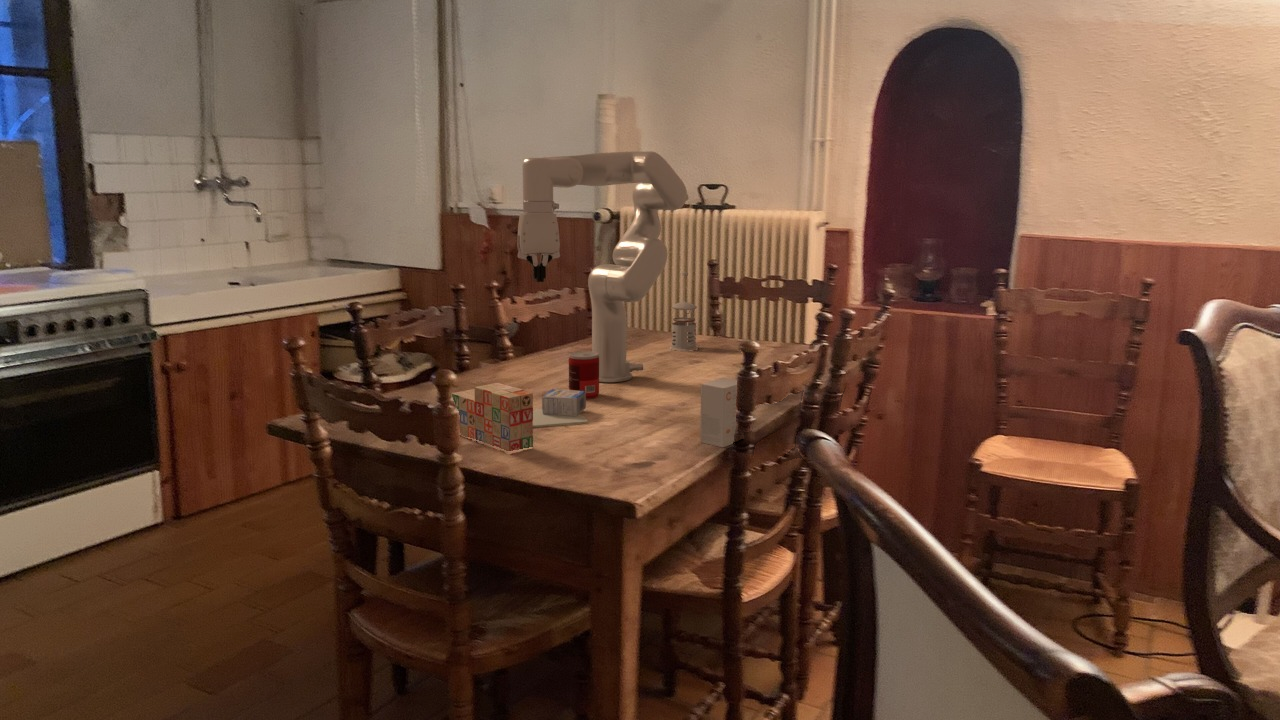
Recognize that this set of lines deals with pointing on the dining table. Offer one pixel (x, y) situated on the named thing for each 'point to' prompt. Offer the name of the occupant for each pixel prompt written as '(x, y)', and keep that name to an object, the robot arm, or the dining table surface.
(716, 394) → the small box
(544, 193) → the robot arm
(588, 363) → the canned food
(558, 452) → the dining table surface
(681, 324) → the grey lantern
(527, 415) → the stack of blocks
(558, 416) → the mat
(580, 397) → the medicine box
